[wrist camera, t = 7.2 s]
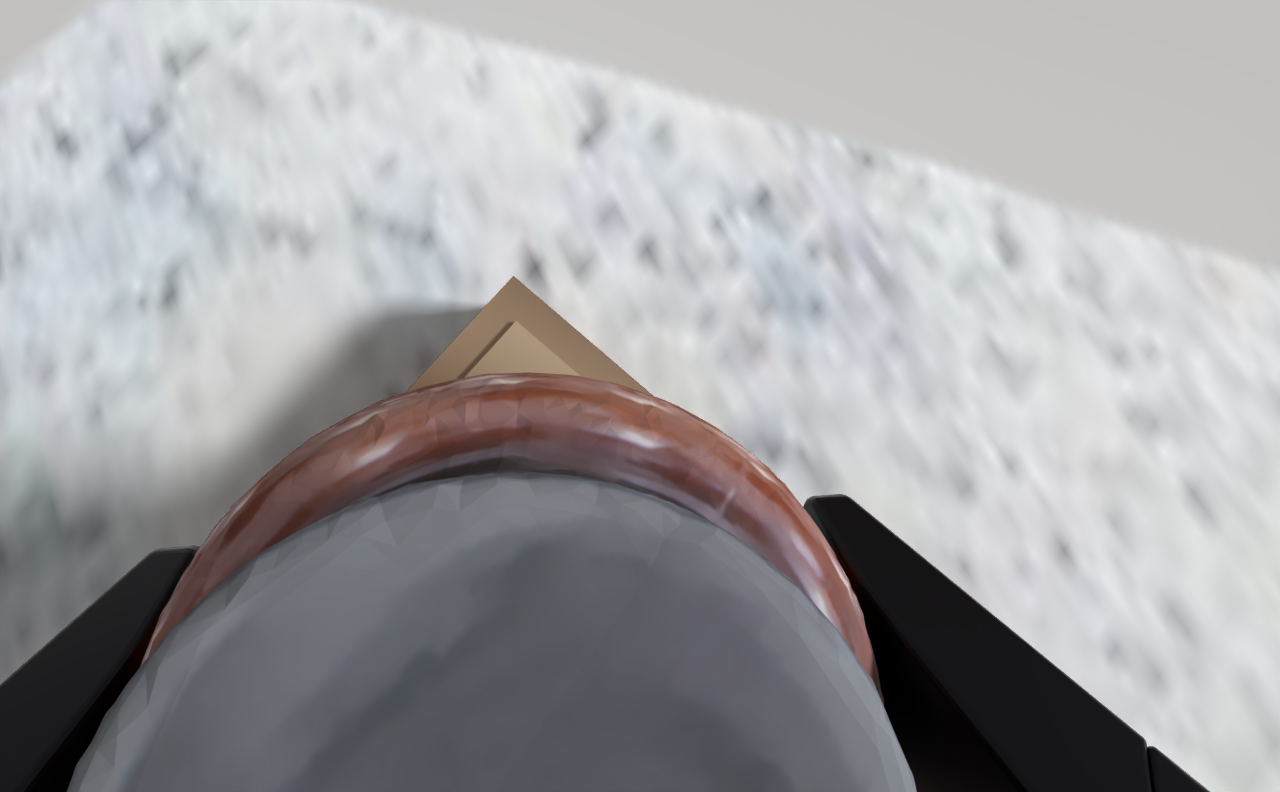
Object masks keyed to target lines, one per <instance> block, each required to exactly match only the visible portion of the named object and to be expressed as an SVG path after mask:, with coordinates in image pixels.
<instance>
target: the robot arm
mask: <svg viewBox="0 0 1280 792" xmlns="http://www.w3.org/2000/svg"><path fill="white" fill-rule="evenodd" d="M803 508H804V509H805V510H806V511H807V513H808V514H809V515H810V517H811V518H812V519H813V521H814V522H815V524H816V525H817V526H818V528H819V529H820V531H821V532H822V534H823V535H824V537H825V539H826V540H827V542H828V543H829V545H830V547H831V548H832V550H833V551H834V553H835V555H836V557H837V560H838V562H839V563H840V565H841V567H842V569H843V571H844V572H845V574H846V576H847V578H848V579H849V582H850V585H851V588H852V590H853V592H854V593H855V595H856V598H857V600H858V603H859V606H860V608H861V610H862V613H863V616H864V622H865V627H866V630H867V633H868V636H869V638H870V641H871V644H872V648H873V652H874V656H875V661H876V665H877V669H878V675H879V680H880V686H881V691H882V694H883V697H884V708H885V711H886V713H887V716H888V718H889V721H890V723H891V725H892V728H893V730H894V733H895V735H896V737H897V740H898V742H899V744H900V746H901V749H902V751H903V753H904V756H905V758H906V760H907V763H908V765H909V767H910V770H911V772H912V774H913V777H914V781H915V785H916V790H917V792H1210V791H1209V790H1207V789H1206V788H1205V787H1203V786H1202V785H1201V784H1200V783H1198V782H1197V781H1196V780H1195V779H1193V778H1192V777H1191V776H1190V775H1189V774H1187V773H1186V772H1185V771H1184V770H1182V769H1181V768H1180V767H1179V766H1178V765H1176V764H1175V763H1174V762H1173V761H1171V760H1170V759H1169V758H1168V757H1167V756H1165V755H1164V754H1163V753H1162V752H1160V751H1159V750H1158V749H1157V748H1155V747H1153V746H1148V747H1147V744H1146V741H1145V739H1144V738H1143V737H1142V736H1141V735H1139V734H1138V733H1137V732H1136V731H1134V730H1133V729H1132V728H1131V727H1130V726H1128V725H1127V724H1126V723H1125V722H1123V721H1122V720H1121V719H1120V718H1119V717H1117V716H1116V715H1115V714H1114V713H1112V712H1111V711H1110V710H1109V709H1108V708H1106V707H1105V706H1104V705H1103V704H1101V703H1100V702H1099V701H1098V700H1097V699H1095V698H1094V697H1093V696H1092V695H1090V694H1089V693H1088V692H1087V691H1086V690H1084V689H1083V688H1082V687H1081V686H1080V685H1078V684H1077V683H1076V682H1075V681H1073V680H1072V679H1071V678H1070V677H1069V676H1067V675H1066V674H1065V673H1064V672H1062V671H1061V670H1060V669H1059V668H1058V667H1056V666H1055V665H1054V664H1053V663H1051V662H1050V661H1049V660H1048V659H1047V658H1045V657H1044V656H1043V655H1042V654H1040V653H1039V652H1038V651H1037V650H1036V649H1034V648H1033V647H1032V646H1031V645H1029V644H1028V643H1027V642H1026V641H1025V640H1023V639H1022V638H1021V637H1020V636H1019V635H1017V634H1016V633H1015V632H1014V631H1012V630H1011V629H1010V628H1009V627H1008V626H1006V625H1005V624H1004V623H1003V622H1001V621H1000V620H999V619H998V618H997V617H995V616H994V615H993V614H992V613H990V612H989V611H988V610H987V609H986V608H984V607H983V606H982V605H981V604H979V603H978V602H977V601H976V600H975V599H973V598H972V597H971V596H970V595H969V594H967V593H966V592H965V591H964V590H962V589H961V588H960V587H959V586H958V585H956V584H955V583H954V582H953V581H951V580H950V579H949V578H948V577H947V576H945V575H944V574H943V573H942V572H940V571H939V570H938V569H937V568H936V567H934V566H933V565H932V564H931V563H929V562H928V561H927V560H926V559H925V558H923V557H922V556H921V555H920V554H918V553H917V552H916V551H915V550H914V549H912V548H911V547H910V546H909V545H908V544H906V543H905V542H904V541H903V540H901V539H900V538H899V537H898V536H897V535H895V534H894V533H893V532H892V531H890V530H889V529H888V528H887V527H886V526H884V525H883V524H882V523H881V522H879V521H878V520H877V519H876V518H875V517H873V516H872V515H871V514H870V513H868V512H867V511H866V510H865V509H864V508H862V507H861V506H860V505H859V504H857V503H856V502H855V501H854V500H853V499H851V498H850V497H848V496H846V495H843V494H835V495H822V496H812V497H810V498H808V499H807V500H806V502H805V504H804V507H803ZM199 548H200V547H199V546H185V547H173V548H161V549H158V550H155V551H153V552H152V553H150V554H149V555H147V556H146V557H145V558H144V559H143V560H142V561H140V562H139V563H138V564H137V565H136V566H135V567H134V568H132V569H131V570H130V571H129V572H128V573H127V574H126V575H124V576H123V577H122V578H121V579H120V580H119V581H118V582H117V583H115V584H114V585H113V586H112V587H111V588H110V589H109V590H107V591H106V592H105V593H104V594H103V595H102V596H101V597H99V598H98V599H97V600H96V601H95V602H94V603H93V604H92V605H90V606H89V607H88V608H87V609H86V610H85V611H84V612H82V613H81V614H80V615H79V616H78V617H77V618H76V619H75V620H73V621H72V622H71V623H70V624H69V625H68V626H67V627H65V628H64V629H63V630H62V631H61V632H60V633H59V634H57V635H56V636H55V637H54V638H53V639H52V640H51V641H50V642H48V643H47V644H46V645H45V646H44V647H43V648H42V649H40V650H39V651H38V652H37V653H36V654H35V655H34V656H32V657H31V658H30V659H29V660H28V661H27V662H26V663H25V664H23V665H22V666H21V667H20V668H19V669H18V670H17V671H15V672H14V673H13V674H12V675H11V676H10V677H9V678H8V679H6V680H5V681H4V682H3V683H2V684H1V685H0V792H67V790H68V787H69V784H70V782H71V779H72V776H73V773H74V770H75V767H76V765H77V763H78V762H79V760H80V759H81V757H82V756H83V754H84V753H85V751H86V750H87V748H88V747H89V745H90V744H91V742H92V740H93V738H94V736H95V734H96V732H97V730H98V728H99V726H100V724H101V722H102V720H103V718H104V716H105V714H106V712H107V711H108V710H109V709H110V708H111V707H112V705H113V704H114V703H115V702H116V700H117V698H118V697H119V695H120V694H121V692H122V691H123V689H124V688H125V686H126V685H127V683H128V682H129V681H130V680H131V678H132V677H133V676H134V674H135V673H136V672H137V671H138V669H139V668H140V666H141V663H142V660H143V658H144V655H145V653H146V650H147V648H148V645H149V643H150V640H151V638H152V636H153V633H154V630H155V628H156V625H157V622H158V620H159V617H160V615H161V613H162V611H163V610H164V608H165V607H166V605H167V603H168V602H169V600H170V598H171V596H172V594H173V592H174V590H175V588H176V586H177V584H178V582H179V580H180V578H181V576H182V574H183V573H184V571H185V570H186V568H187V567H188V566H189V564H190V563H191V561H192V560H193V558H194V556H195V554H196V552H197V551H198V550H199Z"/></svg>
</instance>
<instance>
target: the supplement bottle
mask: <svg viewBox="0 0 1280 792" xmlns="http://www.w3.org/2000/svg"><path fill="white" fill-rule="evenodd" d="M67 792H917V790H916V785H915V781H914V777H913V774H912V772H911V770H910V767H909V765H908V763H907V760H906V758H905V756H904V753H903V751H902V749H901V746H900V744H899V742H898V740H897V737H896V735H895V733H894V730H893V728H892V725H891V723H890V721H889V718H888V716H887V713H886V711H885V708H884V697H883V694H882V691H881V686H880V680H879V675H878V669H877V665H876V661H875V656H874V652H873V648H872V644H871V641H870V638H869V636H868V633H867V630H866V627H865V622H864V616H863V613H862V610H861V608H860V606H859V603H858V600H857V598H856V595H855V593H854V592H853V590H852V588H851V585H850V582H849V579H848V578H847V576H846V574H845V572H844V571H843V569H842V567H841V565H840V563H839V562H838V560H837V557H836V555H835V553H834V551H833V550H832V548H831V547H830V545H829V543H828V542H827V540H826V539H825V537H824V535H823V534H822V532H821V531H820V529H819V528H818V526H817V525H816V524H815V522H814V521H813V519H812V518H811V517H810V515H809V514H808V513H807V511H806V510H805V509H804V508H803V506H802V505H801V504H800V503H799V502H798V500H797V499H796V498H795V497H794V495H793V494H792V493H791V491H790V490H789V489H788V488H787V486H786V485H785V484H784V483H783V482H782V481H781V480H780V479H778V478H777V477H776V475H775V474H774V473H773V472H772V471H771V470H770V469H769V468H768V467H767V466H766V465H765V464H763V463H762V462H761V461H760V460H758V459H757V458H756V457H755V456H754V455H752V454H751V453H750V452H749V451H747V450H746V449H745V448H744V447H742V446H741V445H740V444H738V443H737V442H736V441H734V440H733V439H732V438H730V437H729V436H727V435H726V434H725V433H723V432H722V431H721V430H719V429H718V428H716V427H715V426H713V425H711V424H709V423H708V422H706V421H704V420H702V419H700V418H699V417H697V416H695V415H693V414H691V413H690V412H688V411H686V410H684V409H682V408H680V407H678V406H676V405H674V404H672V403H670V402H667V401H665V400H662V399H660V398H657V397H654V396H651V395H649V394H646V393H643V392H640V391H638V390H635V389H632V388H629V387H626V386H623V385H620V384H617V383H613V382H607V381H601V380H595V379H591V378H586V377H581V376H574V375H566V374H547V373H530V372H526V373H497V374H482V375H476V376H471V377H465V378H460V379H454V380H450V381H446V382H442V383H438V384H434V385H429V386H424V387H421V388H418V389H415V390H412V391H409V392H406V393H403V394H400V395H397V396H394V397H391V398H388V399H385V400H382V401H380V402H378V403H376V404H374V405H372V406H370V407H368V408H366V409H364V410H362V411H360V412H358V413H356V414H354V415H352V416H350V417H348V418H346V419H344V420H342V421H340V422H339V423H337V424H335V425H333V426H331V427H329V428H328V429H326V430H324V431H322V432H320V433H319V434H317V435H315V436H313V437H312V438H310V439H309V440H308V441H307V442H305V443H304V444H303V445H301V446H300V447H299V448H297V449H296V450H295V451H293V452H292V453H291V454H290V455H288V456H287V457H286V458H285V459H283V460H282V461H281V462H280V463H278V464H277V465H276V466H275V467H274V468H273V469H272V470H271V471H269V472H268V473H267V474H266V475H265V476H264V477H262V478H261V479H260V480H259V481H258V482H257V483H256V484H255V485H254V486H253V487H252V488H251V489H250V490H249V491H248V492H247V493H246V494H245V495H243V496H242V497H241V498H240V499H239V500H238V501H237V502H235V503H234V504H233V505H232V507H231V509H230V510H229V511H228V513H227V514H226V515H225V516H224V517H223V518H222V519H221V521H220V522H219V523H218V524H217V525H216V526H215V527H214V529H213V530H212V532H211V533H210V535H209V536H208V538H207V539H206V541H205V542H204V544H203V545H202V546H201V547H200V548H199V550H198V551H197V552H196V554H195V556H194V558H193V560H192V561H191V563H190V564H189V566H188V567H187V568H186V570H185V571H184V573H183V574H182V576H181V578H180V580H179V582H178V584H177V586H176V588H175V590H174V592H173V594H172V596H171V598H170V600H169V602H168V603H167V605H166V607H165V608H164V610H163V611H162V613H161V615H160V617H159V620H158V622H157V625H156V628H155V630H154V633H153V636H152V638H151V640H150V643H149V645H148V648H147V650H146V653H145V655H144V658H143V660H142V663H141V666H140V668H139V669H138V671H137V672H136V673H135V674H134V676H133V677H132V678H131V680H130V681H129V682H128V683H127V685H126V686H125V688H124V689H123V691H122V692H121V694H120V695H119V697H118V698H117V700H116V702H115V703H114V704H113V705H112V707H111V708H110V709H109V710H108V711H107V712H106V714H105V716H104V718H103V720H102V722H101V724H100V726H99V728H98V730H97V732H96V734H95V736H94V738H93V740H92V742H91V744H90V745H89V747H88V748H87V750H86V751H85V753H84V754H83V756H82V757H81V759H80V760H79V762H78V763H77V765H76V767H75V770H74V773H73V776H72V779H71V782H70V784H69V787H68V790H67Z"/></svg>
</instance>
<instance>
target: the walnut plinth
mask: <svg viewBox="0 0 1280 792" xmlns="http://www.w3.org/2000/svg"><path fill="white" fill-rule="evenodd" d="M526 372H530V373H547V374H566V375H574V376H581V377H586V378H591V379H595V380H601V381H607V382H613V383H617V384H620V385H623V386H626V387H629V388H632V389H635V390H638V391H640V392H643V393H646V394H649V395H651V396H653V395H652V394H651V393H649V392H648V391H647V390H646V389H645V388H644V387H642V386H641V385H640V384H639V383H638V382H637V381H635V380H634V379H633V378H632V377H631V376H630V375H628V374H627V373H626V372H625V371H624V370H623V369H621V368H620V367H619V366H618V365H617V364H616V363H614V362H613V361H612V360H611V359H610V358H609V357H607V356H606V355H605V354H604V353H603V352H602V351H600V350H599V349H598V348H597V347H596V346H595V345H593V344H592V343H591V342H590V341H589V340H588V339H586V338H585V337H584V336H583V335H582V334H581V333H579V332H578V331H577V330H576V329H575V328H574V327H572V326H571V325H570V324H569V323H568V322H567V321H565V320H564V319H563V318H562V317H561V316H560V315H558V314H557V313H556V312H555V311H554V310H553V309H551V308H550V307H549V306H548V305H547V304H546V303H544V302H543V301H542V300H541V299H540V298H539V297H537V296H536V295H535V294H534V293H533V292H532V291H530V290H529V289H528V288H527V287H526V286H525V285H523V284H522V283H521V282H520V281H519V280H518V279H516V278H515V277H514V276H513V277H512V278H511V279H510V280H509V281H508V282H507V284H506V285H505V286H504V287H503V288H502V289H501V290H500V291H499V292H498V293H497V294H496V295H495V296H494V298H493V299H492V300H491V301H490V302H489V303H488V304H487V305H486V306H485V307H484V308H483V309H482V310H481V312H480V313H479V314H478V315H477V316H476V317H475V318H474V319H473V320H472V321H471V322H470V323H469V324H468V326H467V327H466V328H465V329H464V330H463V331H462V332H461V333H460V334H459V335H458V336H457V337H456V339H455V340H454V341H453V342H452V343H451V344H450V345H449V346H448V347H447V348H446V349H445V350H444V351H443V353H442V354H441V355H440V356H439V357H438V358H437V359H436V360H435V361H434V362H433V363H432V364H431V365H430V367H429V368H428V369H427V370H426V371H425V372H424V373H423V374H422V375H421V376H420V377H419V378H418V379H417V381H416V382H415V383H414V384H413V385H412V386H411V387H410V388H409V389H408V390H407V391H406V392H409V391H412V390H415V389H418V388H421V387H424V386H429V385H434V384H438V383H442V382H446V381H450V380H454V379H460V378H465V377H471V376H476V375H482V374H497V373H526ZM406 392H405V393H406Z"/></svg>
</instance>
